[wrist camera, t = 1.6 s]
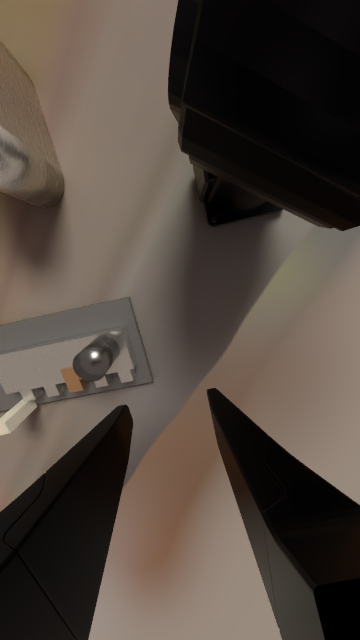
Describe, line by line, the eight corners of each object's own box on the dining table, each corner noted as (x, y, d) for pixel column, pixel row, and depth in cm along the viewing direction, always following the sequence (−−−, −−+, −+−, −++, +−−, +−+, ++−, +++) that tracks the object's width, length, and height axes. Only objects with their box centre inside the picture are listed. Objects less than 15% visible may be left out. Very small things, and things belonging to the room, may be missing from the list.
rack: (125, 325, 19) (108, 343, 14) (139, 373, 20) (128, 402, 16) (-2, 352, 19) (-53, 376, 15) (20, 396, 21) (-20, 430, 16)
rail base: (129, 296, 18) (116, 304, 15) (154, 381, 21) (148, 407, 17) (-54, 337, 20) (-112, 354, 16) (-11, 413, 22) (-51, 444, 18)
